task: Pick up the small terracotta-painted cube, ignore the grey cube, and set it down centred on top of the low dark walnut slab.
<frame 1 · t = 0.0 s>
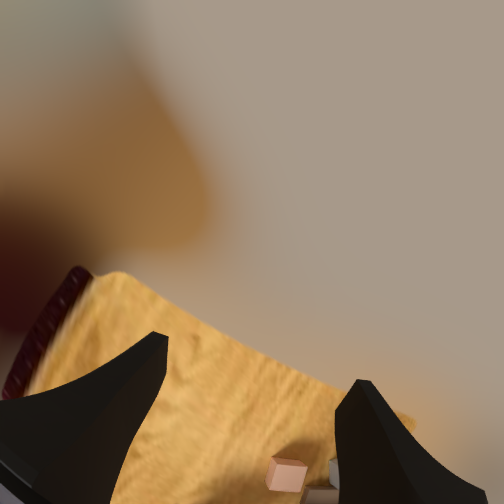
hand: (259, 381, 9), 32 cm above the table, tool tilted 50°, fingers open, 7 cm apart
terracotta cube: (282, 470, 31), on the table
grey cube: (341, 468, 32), on the table
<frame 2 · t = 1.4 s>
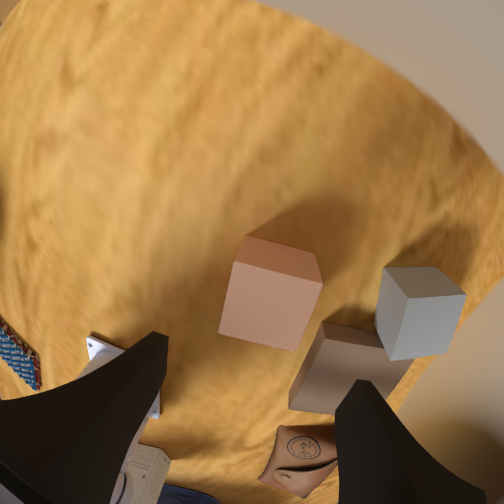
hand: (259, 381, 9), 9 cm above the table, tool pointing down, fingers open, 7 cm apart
terracotta cube: (271, 275, 18), on the table
lunch bag: (186, 501, 40), on the table
skincare box: (149, 450, 30), on the table
woven mat: (20, 350, 28), on the table
sunglasses case: (298, 456, 27), on the table
walnut slab: (348, 364, 21), on the table
grey cube: (405, 294, 18), on the table
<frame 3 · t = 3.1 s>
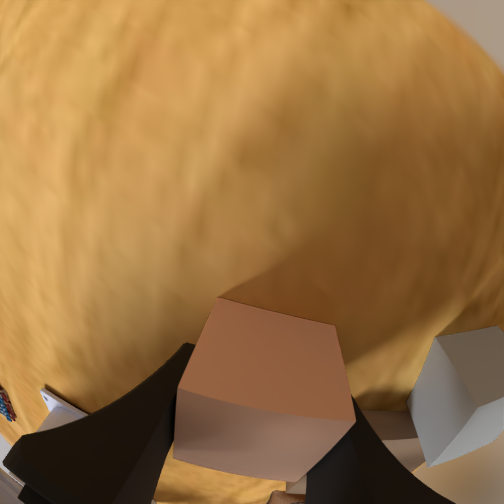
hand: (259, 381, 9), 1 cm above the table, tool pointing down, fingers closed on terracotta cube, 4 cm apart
terracotta cube: (262, 356, 11), on the table, touching gripper
walnut slab: (364, 442, 13), on the table
grey cube: (453, 365, 10), on the table
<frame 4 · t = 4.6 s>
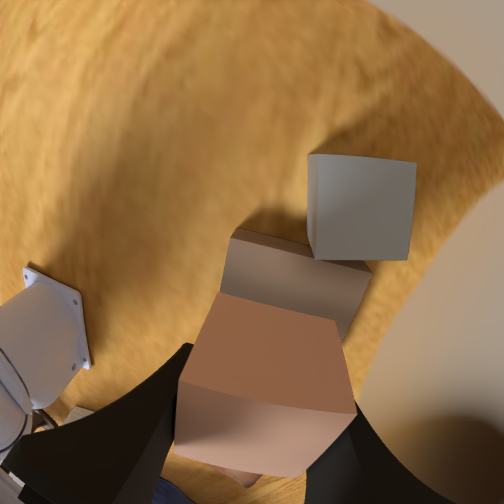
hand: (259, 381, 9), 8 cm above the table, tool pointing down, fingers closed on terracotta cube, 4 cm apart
terracotta cube: (262, 352, 11), point 7 cm above the table, touching gripper
lunch bag: (149, 489, 37), on the table
candlestick: (41, 415, 32), on the table
sunglasses case: (240, 431, 24), on the table
walnut slab: (284, 297, 18), on the table
grey cube: (345, 195, 15), on the table
when the fingers open (5 cm above the table, at t = 6.3 s): terracotta cube drops 1 cm, point 2 cm above the table.
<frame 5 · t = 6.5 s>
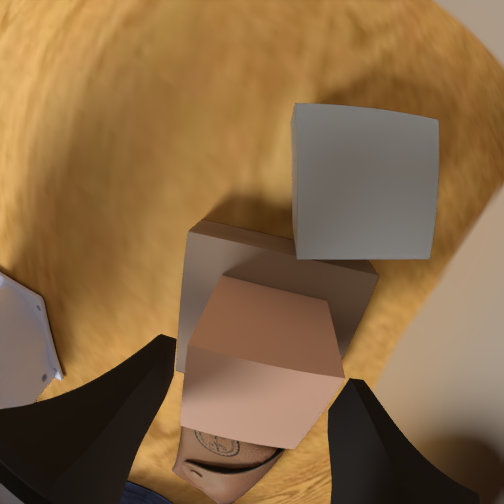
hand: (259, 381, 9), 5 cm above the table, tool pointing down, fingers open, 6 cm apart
terracotta cube: (261, 331, 12), point 2 cm above the table
lunch bag: (140, 498, 34), on the table
sunglasses case: (219, 449, 21), on the table
walnut slab: (267, 306, 14), on the table
grey cube: (342, 174, 11), on the table
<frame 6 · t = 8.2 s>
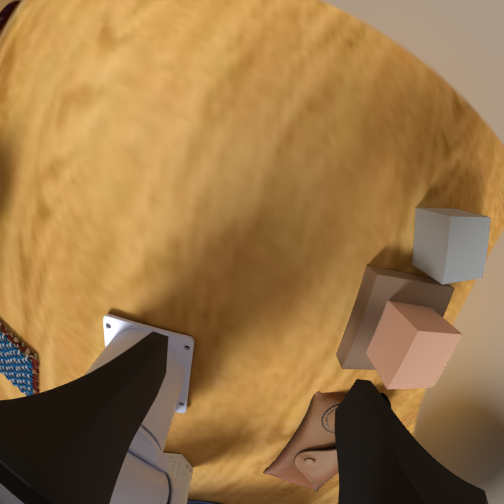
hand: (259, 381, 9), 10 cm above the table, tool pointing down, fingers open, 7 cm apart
terracotta cube: (399, 330, 18), point 2 cm above the table, touching walnut slab
skincare box: (167, 458, 27), on the table
woven mat: (15, 353, 24), on the table
sunglasses case: (317, 439, 25), on the table
walnut slab: (389, 314, 21), on the table, touching terracotta cube
grey cube: (434, 235, 18), on the table
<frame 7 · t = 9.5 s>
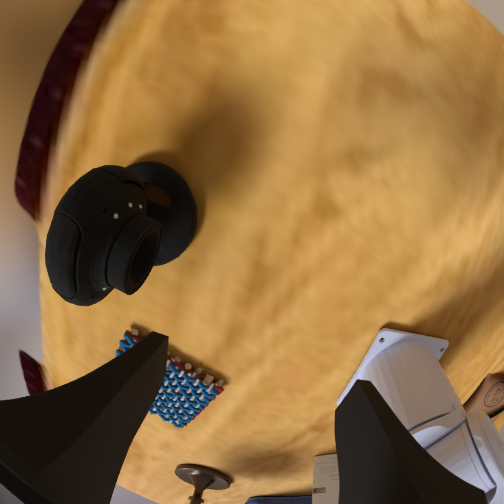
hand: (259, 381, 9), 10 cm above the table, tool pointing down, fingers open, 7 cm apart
candlestick: (203, 474, 32), on the table
skincare box: (334, 458, 27), on the table
woven mat: (163, 377, 25), on the table
sunglasses case: (460, 416, 24), on the table
webcam: (151, 212, 19), on the table
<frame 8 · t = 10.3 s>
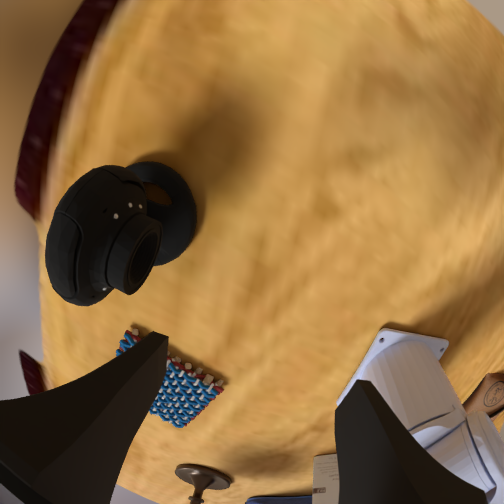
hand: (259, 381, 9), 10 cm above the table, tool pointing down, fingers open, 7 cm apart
candlestick: (203, 474, 32), on the table
skincare box: (334, 458, 27), on the table
woven mat: (163, 377, 25), on the table
sunglasses case: (459, 416, 24), on the table
webcam: (151, 212, 19), on the table
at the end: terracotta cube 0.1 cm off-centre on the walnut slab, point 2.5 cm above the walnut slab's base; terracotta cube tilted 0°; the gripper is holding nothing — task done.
